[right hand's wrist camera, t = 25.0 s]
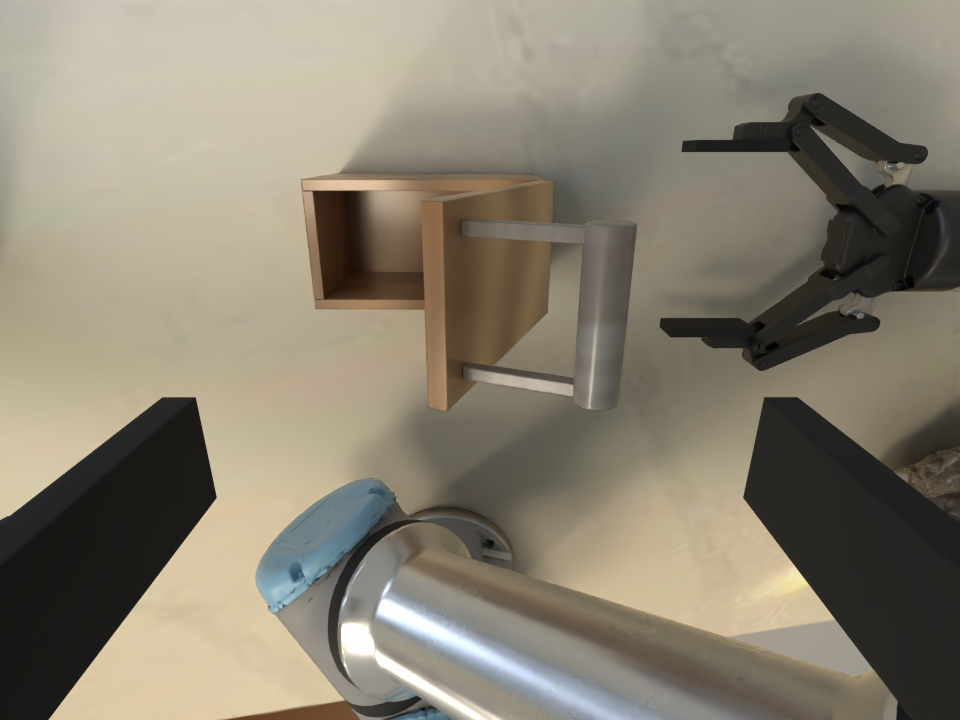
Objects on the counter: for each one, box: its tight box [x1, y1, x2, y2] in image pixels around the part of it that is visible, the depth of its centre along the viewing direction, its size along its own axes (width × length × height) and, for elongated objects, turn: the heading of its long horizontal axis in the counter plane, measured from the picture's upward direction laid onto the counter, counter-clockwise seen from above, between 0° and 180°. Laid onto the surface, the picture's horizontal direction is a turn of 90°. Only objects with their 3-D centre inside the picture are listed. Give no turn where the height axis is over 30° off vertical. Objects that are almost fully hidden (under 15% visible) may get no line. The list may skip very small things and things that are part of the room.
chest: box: [301, 173, 545, 309], centre depth 44 cm, size 17×9×11 cm, turn 90°
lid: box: [421, 180, 637, 411], centre depth 30 cm, size 18×9×8 cm
